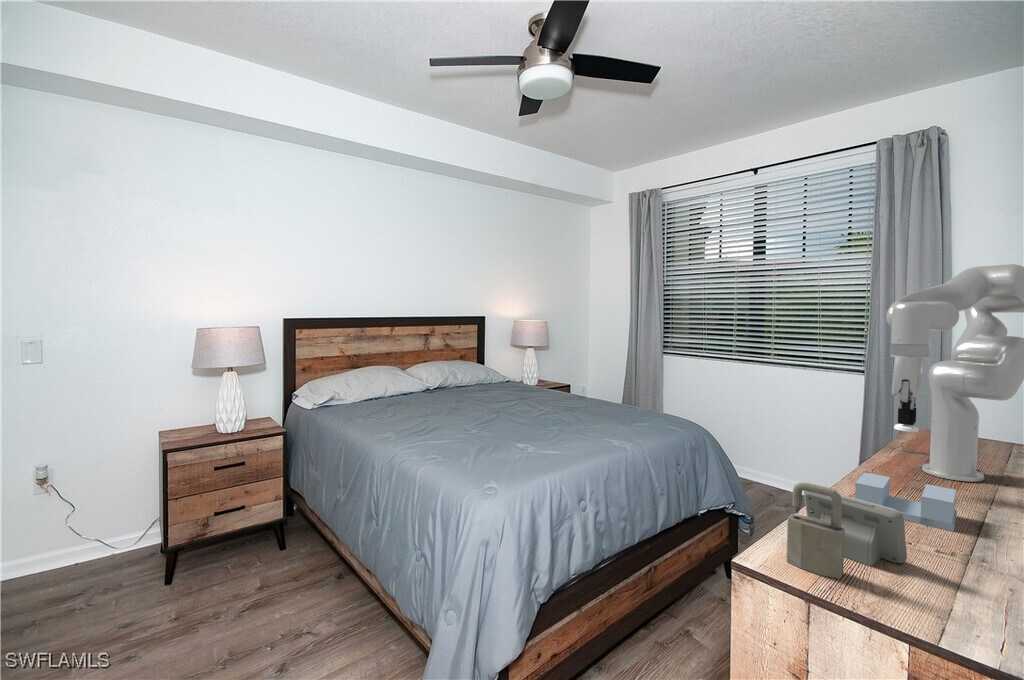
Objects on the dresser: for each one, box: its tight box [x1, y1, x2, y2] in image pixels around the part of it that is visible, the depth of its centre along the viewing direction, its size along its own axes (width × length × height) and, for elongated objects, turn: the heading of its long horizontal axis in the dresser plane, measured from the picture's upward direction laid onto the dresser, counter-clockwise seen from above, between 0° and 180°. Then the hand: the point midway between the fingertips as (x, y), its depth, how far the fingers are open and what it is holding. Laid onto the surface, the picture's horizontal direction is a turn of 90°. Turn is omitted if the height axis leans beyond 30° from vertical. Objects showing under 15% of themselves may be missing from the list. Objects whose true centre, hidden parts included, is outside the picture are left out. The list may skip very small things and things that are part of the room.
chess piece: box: [893, 399, 920, 433], centre depth 121 cm, size 5×5×10 cm
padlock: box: [786, 481, 845, 580], centre depth 84 cm, size 4×8×15 cm, turn 44°
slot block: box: [854, 472, 958, 533], centre depth 107 cm, size 10×17×6 cm, turn 44°
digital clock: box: [803, 490, 908, 567], centre depth 90 cm, size 16×9×11 cm, turn 25°
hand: (906, 422), depth 121 cm, fingers closed on chess piece
